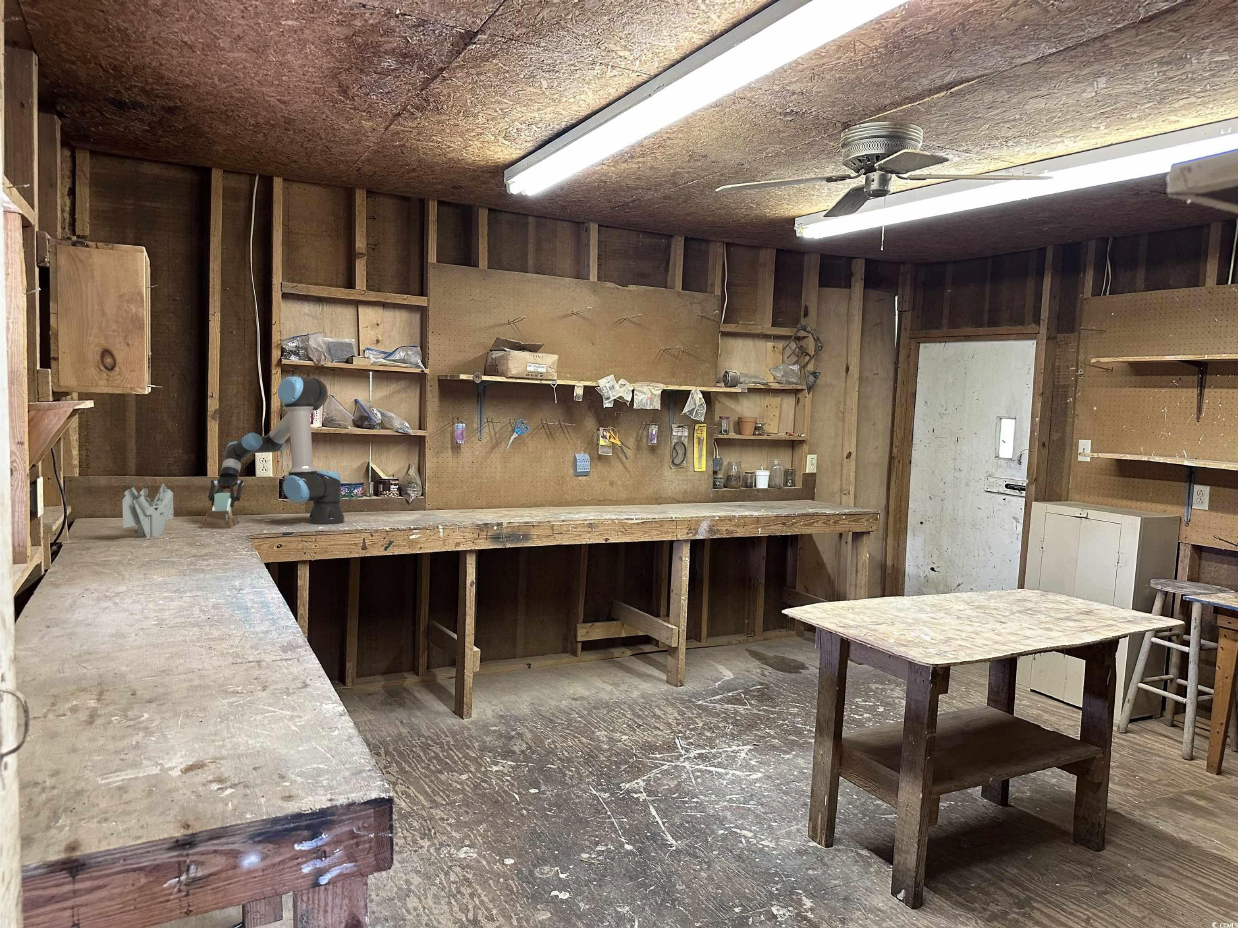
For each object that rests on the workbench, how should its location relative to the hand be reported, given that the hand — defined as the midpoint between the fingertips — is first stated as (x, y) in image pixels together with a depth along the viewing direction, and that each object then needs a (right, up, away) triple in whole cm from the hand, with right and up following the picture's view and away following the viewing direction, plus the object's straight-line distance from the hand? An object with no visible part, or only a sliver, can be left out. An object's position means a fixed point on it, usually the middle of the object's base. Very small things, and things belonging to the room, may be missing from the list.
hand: (220, 512), depth 351 cm
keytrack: (0, -6, 0) cm, 6 cm away
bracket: (-13, -8, -30) cm, 33 cm away
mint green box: (-1, -3, +4) cm, 5 cm away
